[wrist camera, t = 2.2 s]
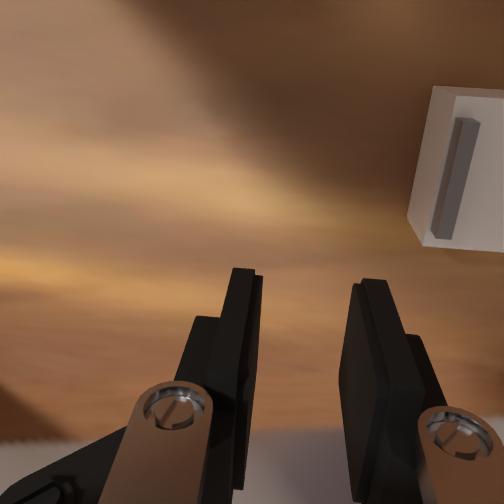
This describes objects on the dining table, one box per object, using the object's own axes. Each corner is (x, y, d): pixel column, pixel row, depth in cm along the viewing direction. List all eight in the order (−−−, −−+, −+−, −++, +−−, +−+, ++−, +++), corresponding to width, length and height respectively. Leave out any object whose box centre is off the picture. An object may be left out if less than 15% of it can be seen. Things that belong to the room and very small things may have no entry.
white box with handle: (432, 85, 27) (464, 99, 22) (541, 91, 27) (599, 107, 22) (405, 216, 31) (427, 255, 26) (502, 224, 30) (544, 264, 25)
